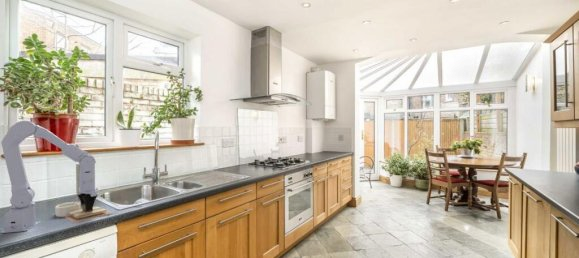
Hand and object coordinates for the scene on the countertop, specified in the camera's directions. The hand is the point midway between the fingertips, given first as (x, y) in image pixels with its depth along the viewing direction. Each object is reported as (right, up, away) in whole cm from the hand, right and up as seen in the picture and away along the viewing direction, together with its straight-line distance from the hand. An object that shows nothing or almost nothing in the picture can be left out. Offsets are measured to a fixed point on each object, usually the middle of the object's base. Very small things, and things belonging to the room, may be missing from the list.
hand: (87, 209), depth 120 cm
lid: (0, -2, 0) cm, 2 cm away
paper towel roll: (-18, -3, +22) cm, 29 cm away
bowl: (-11, -3, +2) cm, 12 cm away
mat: (0, -3, 0) cm, 3 cm away
